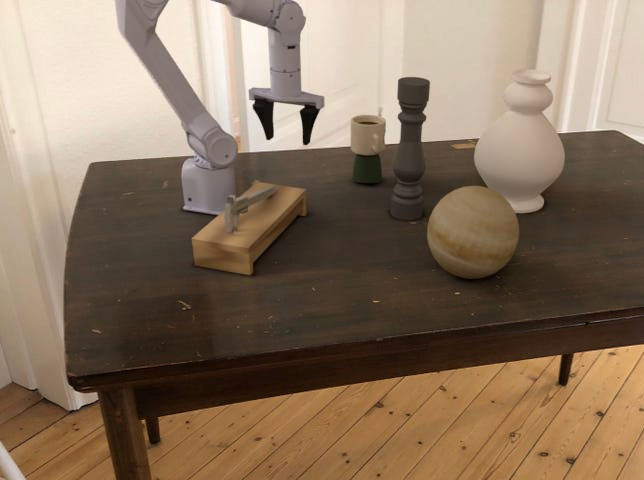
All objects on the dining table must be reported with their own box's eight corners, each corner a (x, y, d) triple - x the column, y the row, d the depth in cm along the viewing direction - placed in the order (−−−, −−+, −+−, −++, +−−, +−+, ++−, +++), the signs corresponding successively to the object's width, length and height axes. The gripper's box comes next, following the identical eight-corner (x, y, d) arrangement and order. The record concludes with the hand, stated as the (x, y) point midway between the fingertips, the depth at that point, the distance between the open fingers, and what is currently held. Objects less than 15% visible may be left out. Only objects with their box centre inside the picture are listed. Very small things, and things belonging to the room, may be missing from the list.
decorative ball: (415, 255, 130) (420, 173, 121) (495, 250, 133) (506, 170, 124) (437, 298, 118) (444, 211, 109) (525, 292, 121) (539, 206, 113)
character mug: (392, 188, 154) (395, 126, 147) (360, 192, 152) (361, 129, 144) (372, 170, 162) (374, 110, 155) (342, 174, 160) (342, 113, 152)
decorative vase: (458, 207, 148) (471, 78, 133) (484, 178, 161) (498, 57, 147) (545, 225, 143) (568, 93, 128) (564, 193, 156) (587, 70, 142)
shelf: (194, 265, 123) (191, 238, 120) (258, 206, 144) (256, 181, 141) (250, 275, 121) (248, 247, 119) (306, 213, 142) (306, 189, 139)
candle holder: (389, 206, 147) (395, 76, 132) (420, 207, 147) (429, 77, 133) (391, 220, 142) (397, 85, 127) (424, 220, 142) (433, 86, 128)
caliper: (232, 236, 122) (228, 200, 118) (226, 235, 122) (222, 199, 118) (278, 190, 138) (277, 158, 135) (273, 189, 138) (271, 157, 135)
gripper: (329, 67, 139) (330, 139, 147) (257, 59, 141) (262, 130, 149) (316, 77, 133) (317, 151, 141) (241, 68, 136) (247, 141, 144)
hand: (288, 141), depth 145 cm, fingers open, 7 cm apart
